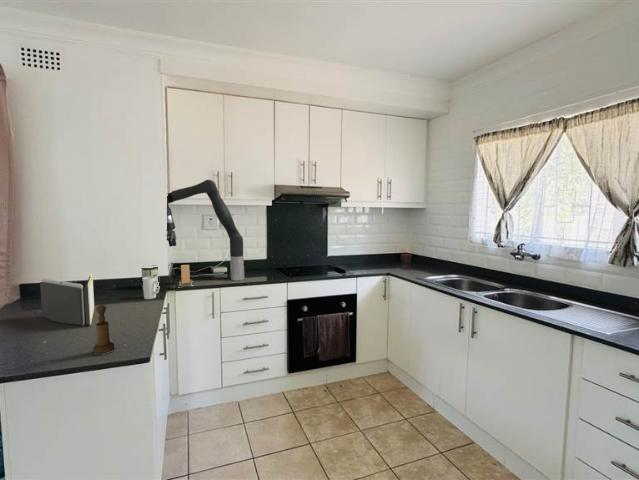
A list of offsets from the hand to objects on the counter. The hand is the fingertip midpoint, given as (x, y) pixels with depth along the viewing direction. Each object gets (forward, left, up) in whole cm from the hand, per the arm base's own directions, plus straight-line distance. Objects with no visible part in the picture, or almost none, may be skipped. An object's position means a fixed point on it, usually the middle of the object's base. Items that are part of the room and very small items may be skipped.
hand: (173, 246), depth 231 cm
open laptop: (+38, +58, -26) cm, 74 cm away
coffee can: (+14, +9, -26) cm, 31 cm away
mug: (+10, +34, -26) cm, 44 cm away
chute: (-7, +7, -26) cm, 28 cm away
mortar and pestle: (+17, +107, -26) cm, 111 cm away
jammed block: (-7, +4, -26) cm, 27 cm away
